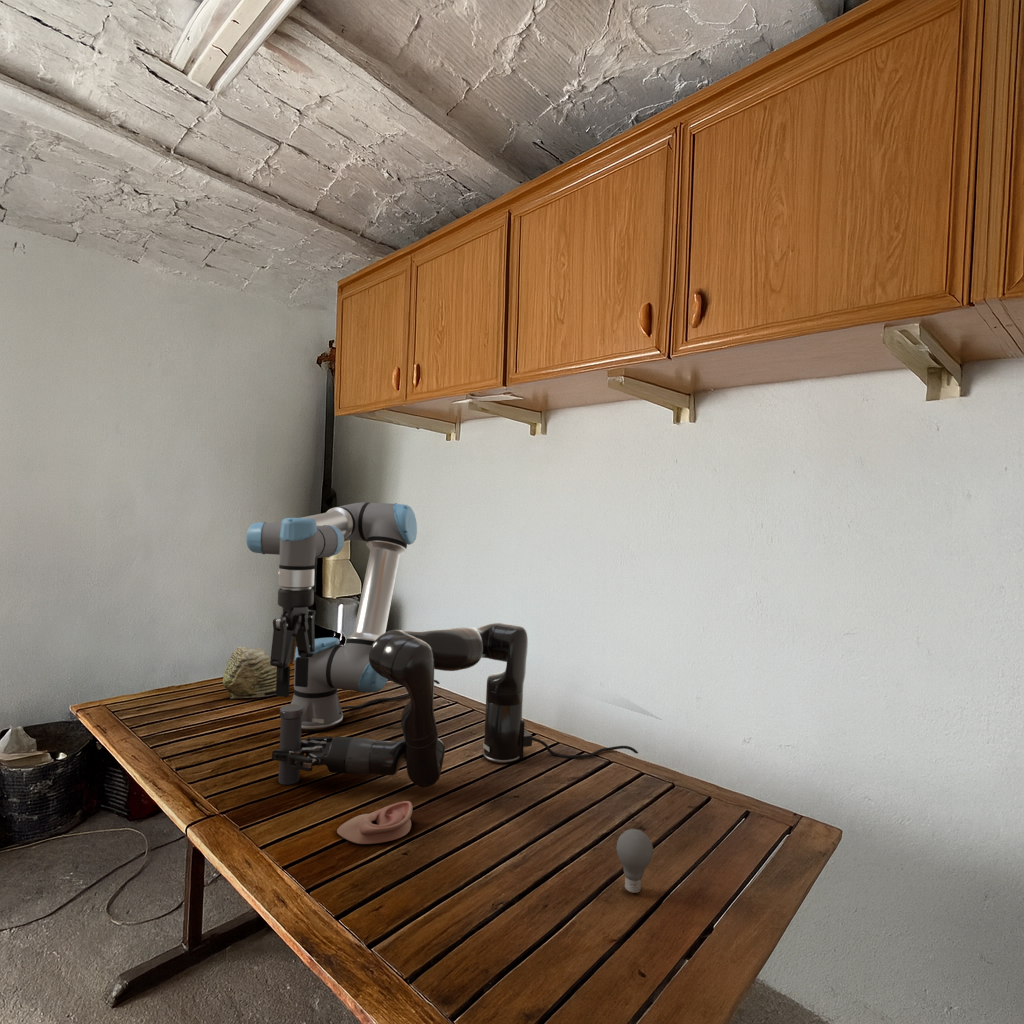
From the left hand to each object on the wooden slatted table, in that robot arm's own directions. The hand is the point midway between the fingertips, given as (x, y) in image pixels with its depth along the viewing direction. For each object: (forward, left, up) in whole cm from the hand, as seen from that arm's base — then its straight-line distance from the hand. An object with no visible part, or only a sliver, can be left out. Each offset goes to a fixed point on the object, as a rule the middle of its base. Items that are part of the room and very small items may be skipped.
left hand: (292, 690), depth 140 cm
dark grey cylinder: (0, 0, -20) cm, 20 cm away
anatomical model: (0, +30, -20) cm, 36 cm away
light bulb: (-16, +76, -20) cm, 81 cm away
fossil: (-25, -60, -20) cm, 68 cm away
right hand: (+1, -2, -13) cm, 14 cm away
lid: (0, 0, -4) cm, 4 cm away
